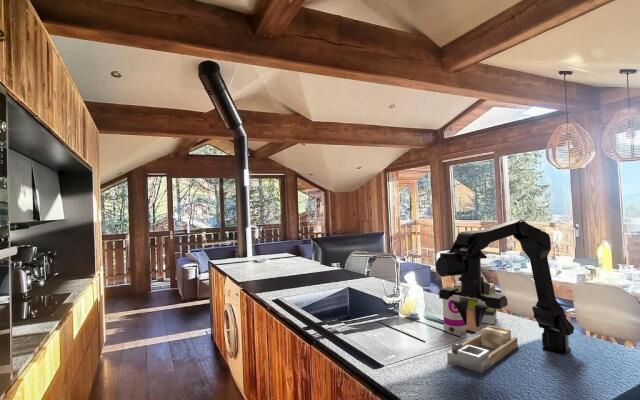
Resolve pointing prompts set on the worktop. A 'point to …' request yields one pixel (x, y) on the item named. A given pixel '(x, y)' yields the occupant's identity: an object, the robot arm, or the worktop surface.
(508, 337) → the cream wooden block
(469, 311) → the handle peg
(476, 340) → the bay
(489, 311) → the tea box
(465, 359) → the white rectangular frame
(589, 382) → the worktop surface
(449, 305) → the supplement can
